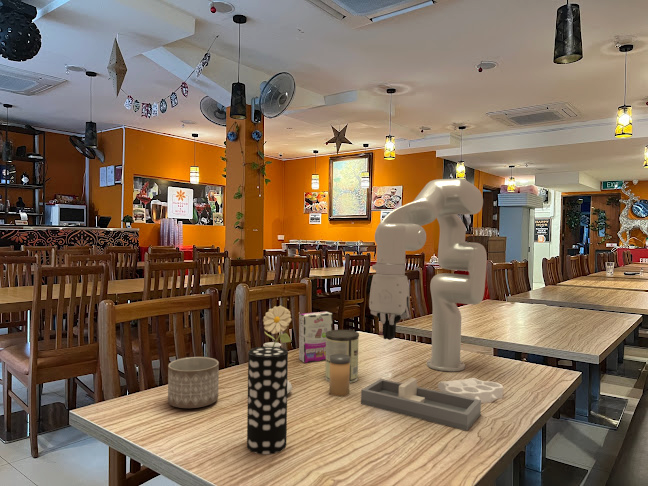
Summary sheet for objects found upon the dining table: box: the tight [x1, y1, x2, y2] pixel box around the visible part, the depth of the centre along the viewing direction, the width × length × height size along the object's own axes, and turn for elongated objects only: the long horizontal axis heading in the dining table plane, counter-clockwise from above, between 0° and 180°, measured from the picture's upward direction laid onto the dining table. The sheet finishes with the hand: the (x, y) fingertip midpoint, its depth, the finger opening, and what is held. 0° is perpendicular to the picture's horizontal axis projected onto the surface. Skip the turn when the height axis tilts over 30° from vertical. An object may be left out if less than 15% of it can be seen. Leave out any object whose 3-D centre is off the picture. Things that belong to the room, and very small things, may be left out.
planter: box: [167, 356, 220, 409], centre depth 122 cm, size 13×13×10 cm
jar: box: [328, 354, 350, 397], centre depth 131 cm, size 6×6×10 cm
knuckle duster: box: [437, 377, 504, 404], centre depth 131 cm, size 3×18×15 cm
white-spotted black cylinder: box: [246, 346, 289, 455], centre depth 99 cm, size 8×8×20 cm
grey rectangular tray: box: [360, 378, 482, 431], centre depth 120 cm, size 11×28×4 cm, turn 57°
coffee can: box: [324, 329, 360, 384], centre depth 143 cm, size 10×10×14 cm
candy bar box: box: [298, 311, 333, 364], centre depth 163 cm, size 11×5×16 cm, turn 117°
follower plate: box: [399, 377, 425, 403], centre depth 121 cm, size 8×4×5 cm, turn 147°
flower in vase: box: [262, 305, 293, 395], centre depth 128 cm, size 13×11×25 cm
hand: (389, 338), depth 124 cm, fingers closed
